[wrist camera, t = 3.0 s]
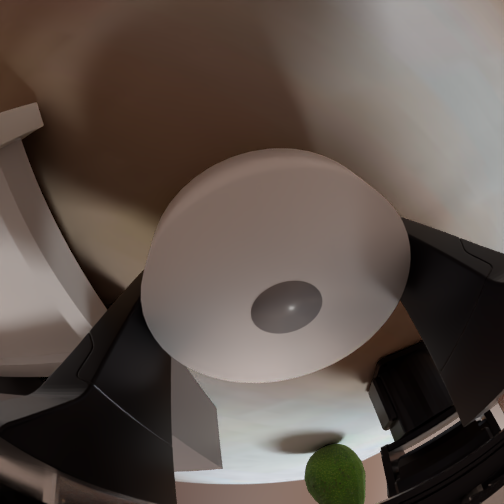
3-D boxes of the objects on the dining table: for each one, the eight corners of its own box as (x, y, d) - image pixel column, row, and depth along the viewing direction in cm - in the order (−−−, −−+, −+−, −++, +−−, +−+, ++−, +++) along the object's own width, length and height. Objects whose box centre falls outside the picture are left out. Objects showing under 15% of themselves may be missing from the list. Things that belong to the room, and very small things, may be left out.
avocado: (363, 432, 31) (388, 503, 21) (328, 452, 35) (347, 516, 25) (321, 437, 28) (345, 520, 19) (286, 456, 32) (303, 529, 22)
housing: (144, 303, 13) (129, 399, 9) (216, 408, 20) (222, 468, 15) (-12, 333, 13) (-36, 390, 9) (77, 416, 20) (71, 463, 15)
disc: (383, 129, 6) (421, 145, 5) (373, 315, 10) (391, 347, 9) (110, 192, 6) (87, 223, 5) (197, 361, 10) (198, 397, 9)
